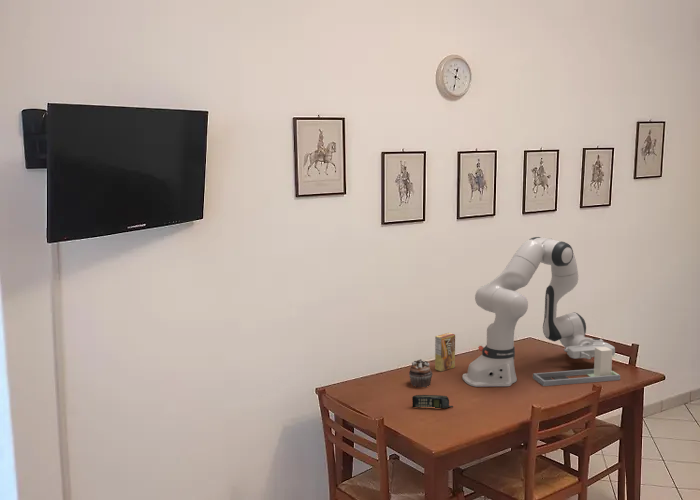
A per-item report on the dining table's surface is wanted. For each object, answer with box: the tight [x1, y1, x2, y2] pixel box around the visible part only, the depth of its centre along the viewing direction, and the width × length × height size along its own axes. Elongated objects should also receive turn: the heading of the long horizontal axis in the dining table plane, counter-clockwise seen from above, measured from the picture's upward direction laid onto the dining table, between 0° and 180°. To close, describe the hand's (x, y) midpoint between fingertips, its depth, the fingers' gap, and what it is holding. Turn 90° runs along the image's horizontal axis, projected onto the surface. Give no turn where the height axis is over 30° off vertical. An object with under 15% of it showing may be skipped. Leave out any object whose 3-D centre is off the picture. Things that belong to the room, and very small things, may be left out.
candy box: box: [434, 332, 456, 372], centre depth 293 cm, size 9×4×15 cm, turn 129°
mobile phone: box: [411, 394, 454, 409], centre depth 250 cm, size 5×3×15 cm
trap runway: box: [532, 368, 621, 387], centre depth 278 cm, size 34×10×2 cm, turn 100°
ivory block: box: [593, 347, 613, 376], centre depth 279 cm, size 5×5×12 cm
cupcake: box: [408, 359, 433, 388], centre depth 274 cm, size 10×10×10 cm
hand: (600, 356), depth 281 cm, fingers open, 8 cm apart
